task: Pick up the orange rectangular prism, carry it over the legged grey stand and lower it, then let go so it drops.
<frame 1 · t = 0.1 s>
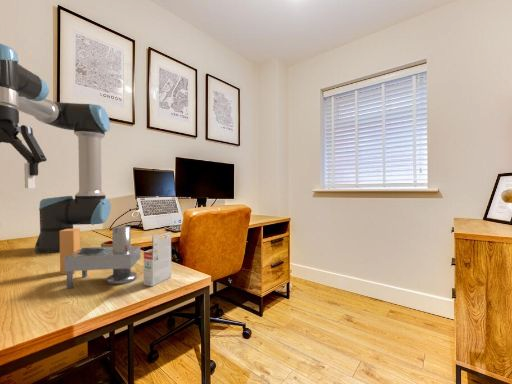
hand: (1, 188, 66), 28 cm above the table, fingers open, 13 cm apart
ink box: (157, 281, 76), on the table
orange rectangular prism: (70, 271, 83), on the table
legged grey stand: (122, 279, 77), on the table
mug: (109, 257, 100), on the table
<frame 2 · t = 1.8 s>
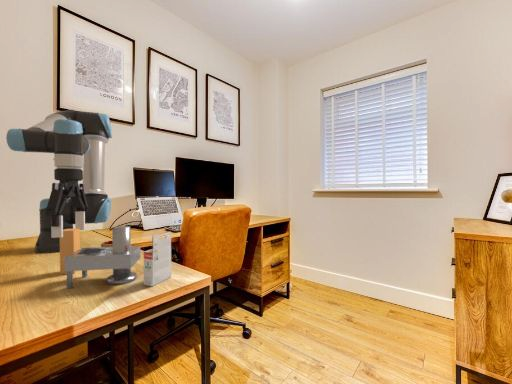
hand: (69, 233, 83), 13 cm above the table, fingers open, 13 cm apart
nothing on the table moved.
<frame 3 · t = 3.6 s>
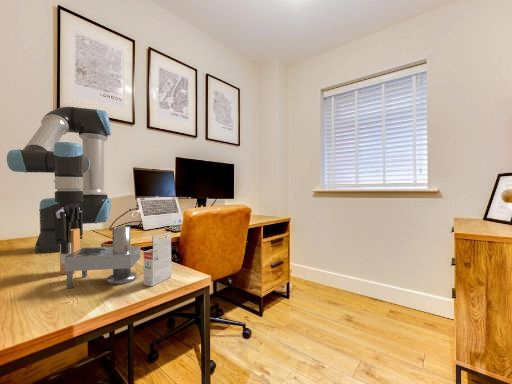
hand: (70, 260, 83), 4 cm above the table, fingers closed on orange rectangular prism, 4 cm apart
orange rectangular prism: (70, 271, 83), on the table, touching gripper
everything else where it was.
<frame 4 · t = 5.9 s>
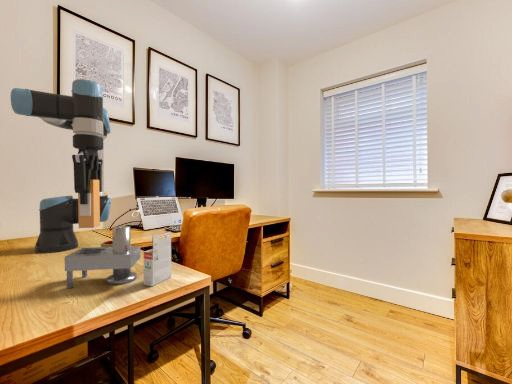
hand: (89, 214, 75), 20 cm above the table, fingers closed on orange rectangular prism, 4 cm apart
orange rectangular prism: (89, 226, 75), point 16 cm above the table, touching gripper
everything else where it was.
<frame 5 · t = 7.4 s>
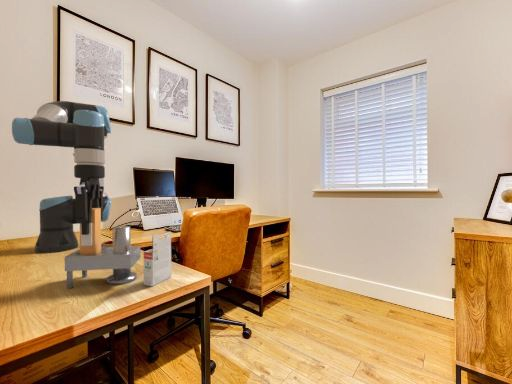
hand: (90, 243, 75), 11 cm above the table, fingers closed on orange rectangular prism, 4 cm apart
orange rectangular prism: (91, 255, 75), point 8 cm above the table, touching gripper
everything else where it was.
when the fingers open (10 cm above the table, at t = 8.4 s): orange rectangular prism drops 6 cm, on the table.
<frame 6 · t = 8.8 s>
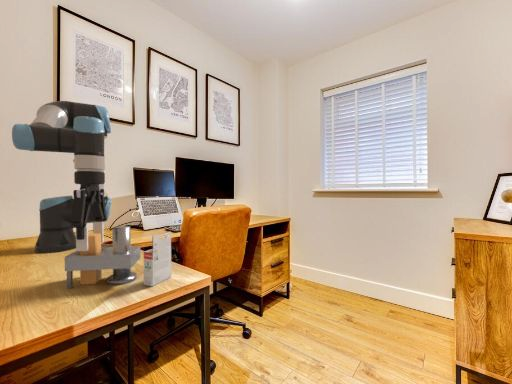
hand: (90, 246, 75), 11 cm above the table, fingers open, 9 cm apart
orange rectangular prism: (91, 281, 75), on the table
everything else where it was.
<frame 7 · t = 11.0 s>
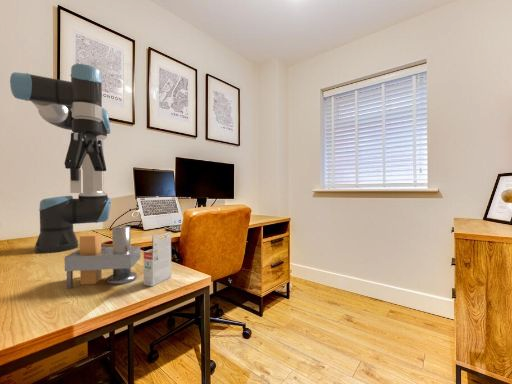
hand: (88, 192, 76), 27 cm above the table, fingers open, 13 cm apart
nothing on the table moved.
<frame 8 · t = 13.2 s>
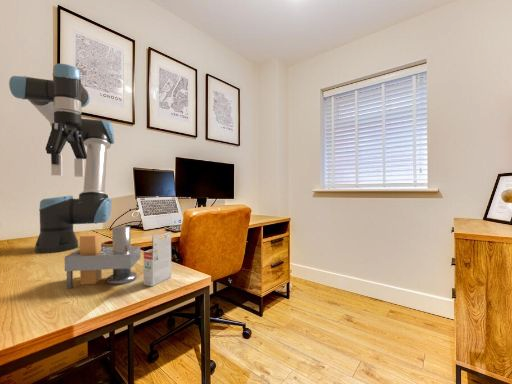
hand: (69, 176, 86), 32 cm above the table, fingers open, 13 cm apart
nothing on the table moved.
at the end: orange rectangular prism 0.0 cm from the target spot, on the table; orange rectangular prism tilted 0°; the gripper is holding nothing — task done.
